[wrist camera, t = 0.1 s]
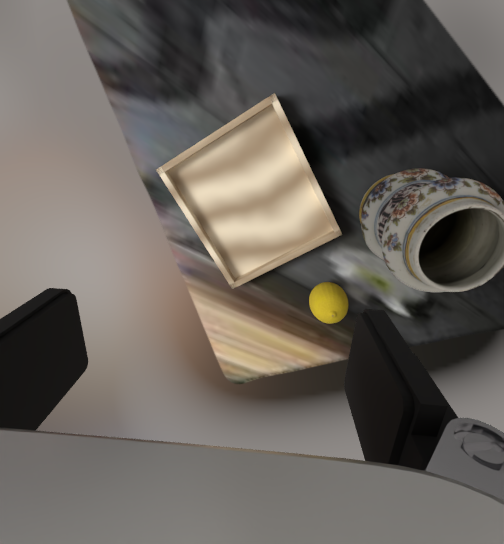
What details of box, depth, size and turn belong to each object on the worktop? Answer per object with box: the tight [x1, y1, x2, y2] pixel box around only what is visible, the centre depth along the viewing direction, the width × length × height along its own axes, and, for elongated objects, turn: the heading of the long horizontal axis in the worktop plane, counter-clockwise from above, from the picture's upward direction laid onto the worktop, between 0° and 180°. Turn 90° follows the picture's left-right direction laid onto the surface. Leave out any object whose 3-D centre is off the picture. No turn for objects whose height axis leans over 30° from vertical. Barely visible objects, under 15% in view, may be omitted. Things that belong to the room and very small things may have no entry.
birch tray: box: [157, 93, 342, 289], centre depth 44 cm, size 20×18×2 cm
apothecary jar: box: [359, 169, 504, 292], centre depth 36 cm, size 12×12×18 cm
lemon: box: [309, 282, 348, 323], centre depth 46 cm, size 6×6×8 cm
